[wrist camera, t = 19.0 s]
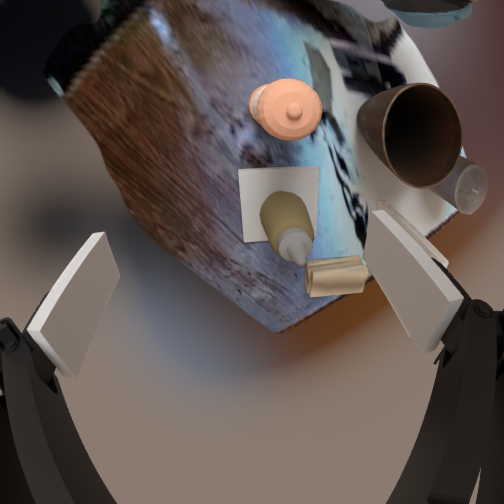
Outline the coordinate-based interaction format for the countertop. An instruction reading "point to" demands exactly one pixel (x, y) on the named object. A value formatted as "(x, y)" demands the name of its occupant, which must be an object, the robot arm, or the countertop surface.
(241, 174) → the grey mat
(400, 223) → the panel
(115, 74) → the countertop surface
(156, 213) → the countertop surface
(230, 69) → the countertop surface
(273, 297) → the countertop surface
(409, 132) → the plant pot
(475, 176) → the pillar candle
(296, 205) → the squeeze bottle
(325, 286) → the offcut stack
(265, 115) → the pepper shaker
